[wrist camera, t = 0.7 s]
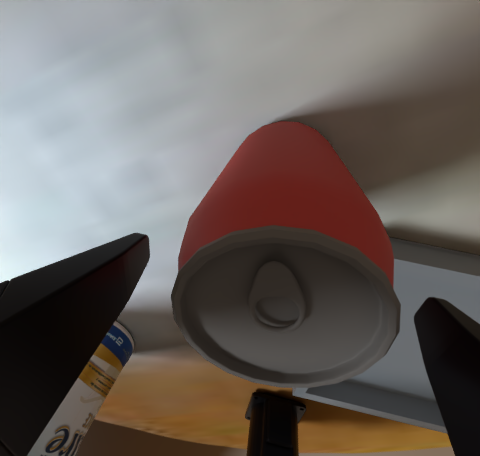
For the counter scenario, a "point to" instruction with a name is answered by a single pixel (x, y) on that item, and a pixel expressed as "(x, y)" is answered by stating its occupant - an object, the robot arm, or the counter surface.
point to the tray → (409, 338)
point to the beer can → (287, 266)
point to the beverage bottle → (85, 396)
